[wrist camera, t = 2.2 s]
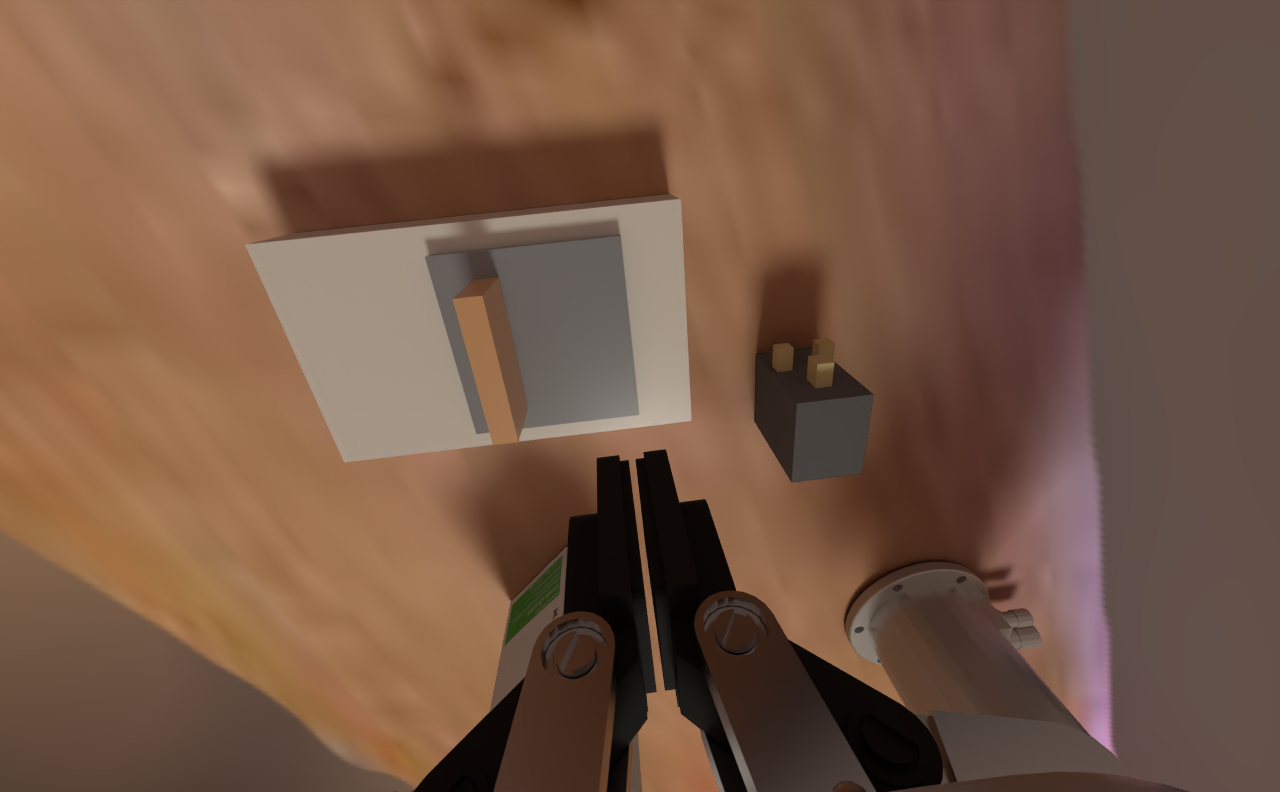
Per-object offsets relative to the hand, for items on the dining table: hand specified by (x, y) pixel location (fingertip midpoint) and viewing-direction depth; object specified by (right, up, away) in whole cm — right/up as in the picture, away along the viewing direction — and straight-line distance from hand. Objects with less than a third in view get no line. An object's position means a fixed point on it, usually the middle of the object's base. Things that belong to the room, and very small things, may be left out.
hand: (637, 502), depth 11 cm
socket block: (-8, +7, +16) cm, 19 cm away
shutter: (-5, +6, +13) cm, 15 cm away
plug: (+10, +3, +20) cm, 22 cm away
